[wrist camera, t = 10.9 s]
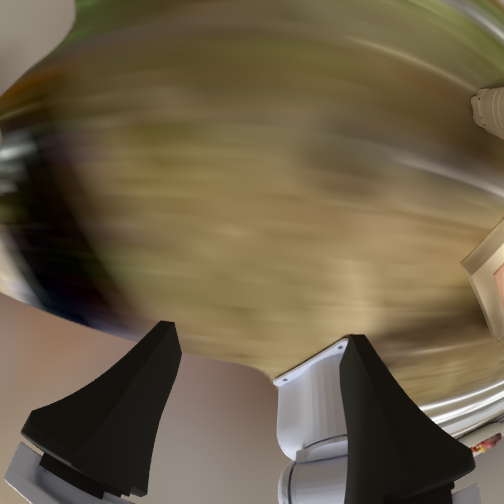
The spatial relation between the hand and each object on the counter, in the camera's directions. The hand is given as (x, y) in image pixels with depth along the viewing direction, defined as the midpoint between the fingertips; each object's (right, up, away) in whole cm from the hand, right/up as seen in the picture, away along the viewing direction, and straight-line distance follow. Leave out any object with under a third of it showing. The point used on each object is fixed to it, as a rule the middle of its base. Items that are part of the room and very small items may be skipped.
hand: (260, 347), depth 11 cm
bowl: (+60, -52, +34) cm, 86 cm away
